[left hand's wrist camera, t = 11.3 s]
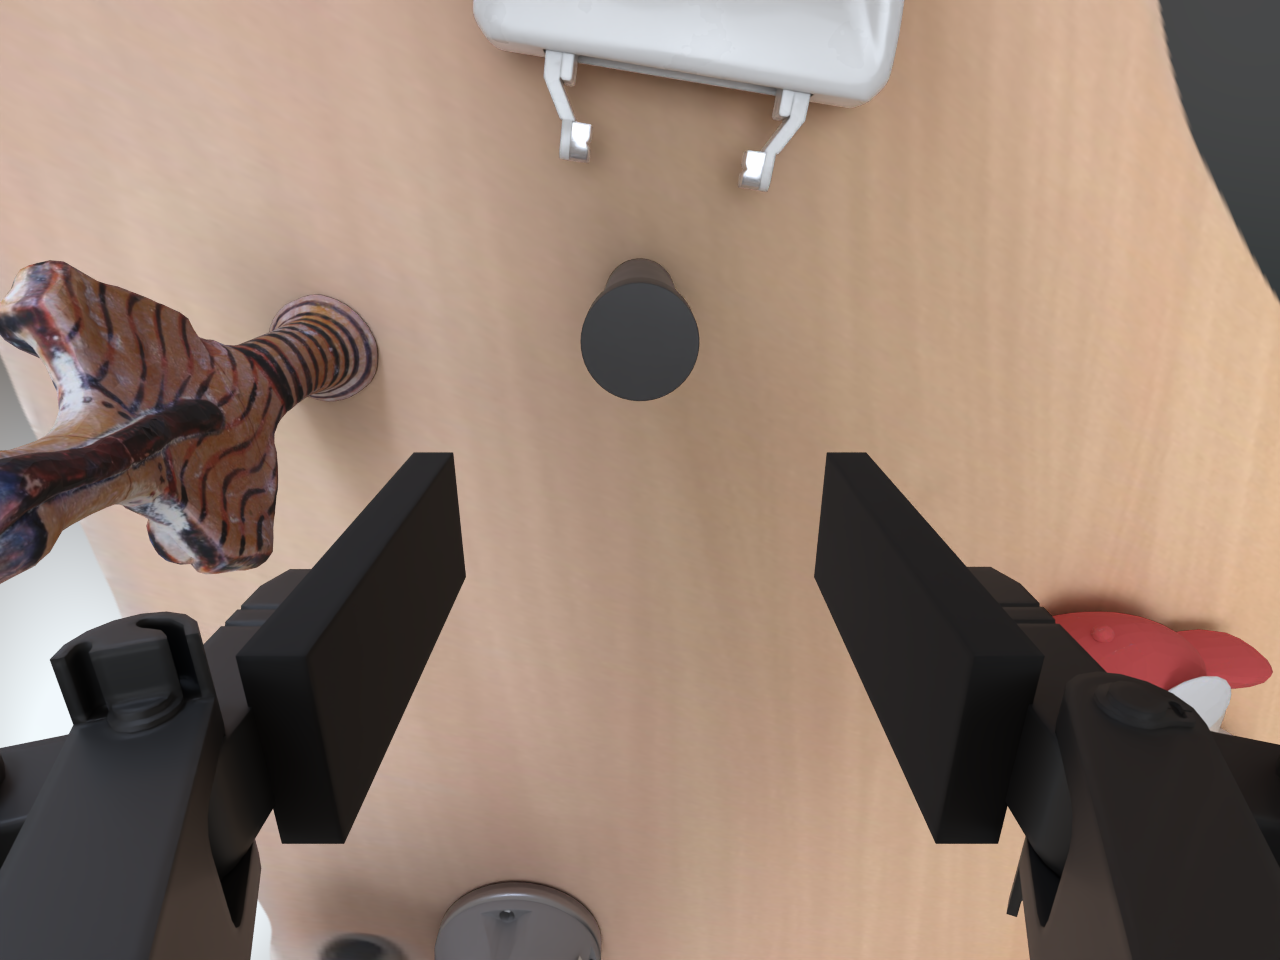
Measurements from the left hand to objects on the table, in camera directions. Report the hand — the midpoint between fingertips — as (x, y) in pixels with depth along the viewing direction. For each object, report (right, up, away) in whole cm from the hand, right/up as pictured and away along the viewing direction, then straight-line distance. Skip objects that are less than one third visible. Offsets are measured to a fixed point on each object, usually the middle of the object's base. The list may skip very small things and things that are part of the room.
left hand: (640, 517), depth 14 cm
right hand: (+1, +17, +23) cm, 29 cm away
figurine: (-20, +10, +33) cm, 40 cm away
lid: (0, +7, +17) cm, 18 cm away
